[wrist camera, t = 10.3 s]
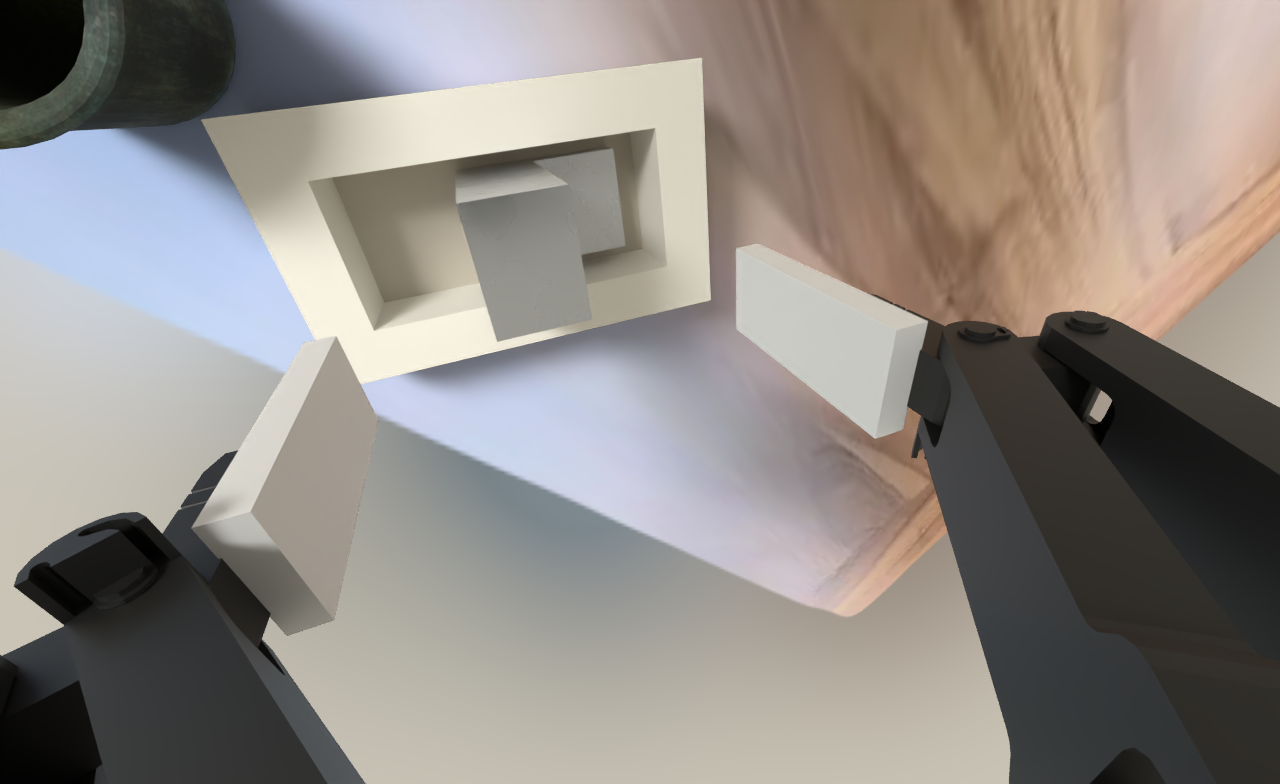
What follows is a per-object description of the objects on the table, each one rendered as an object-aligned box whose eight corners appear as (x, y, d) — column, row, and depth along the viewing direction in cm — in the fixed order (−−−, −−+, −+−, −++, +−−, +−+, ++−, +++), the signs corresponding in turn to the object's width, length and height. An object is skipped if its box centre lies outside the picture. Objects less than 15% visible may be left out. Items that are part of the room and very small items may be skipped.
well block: (247, 117, 26) (200, 119, 21) (664, 65, 31) (702, 57, 26) (357, 349, 33) (340, 388, 29) (679, 276, 39) (710, 300, 34)
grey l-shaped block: (455, 170, 30) (455, 203, 19) (604, 146, 32) (681, 164, 21) (483, 266, 33) (497, 342, 22) (617, 239, 35) (689, 296, 24)
